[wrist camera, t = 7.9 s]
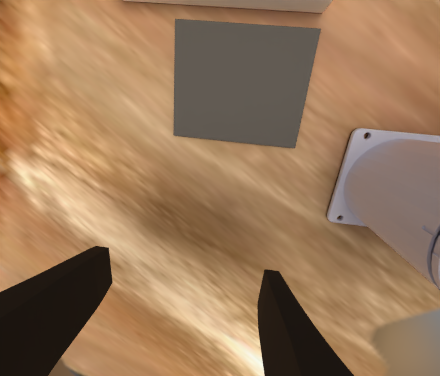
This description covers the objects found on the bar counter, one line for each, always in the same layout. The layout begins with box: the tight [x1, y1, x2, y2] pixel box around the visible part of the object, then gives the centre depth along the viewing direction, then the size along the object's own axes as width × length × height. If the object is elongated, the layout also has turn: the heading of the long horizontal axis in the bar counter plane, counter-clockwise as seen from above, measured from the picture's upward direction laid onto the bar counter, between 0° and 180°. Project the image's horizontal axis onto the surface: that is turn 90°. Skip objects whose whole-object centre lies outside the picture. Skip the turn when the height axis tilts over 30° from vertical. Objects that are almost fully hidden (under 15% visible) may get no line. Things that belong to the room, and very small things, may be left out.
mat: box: [174, 19, 321, 148], centre depth 16 cm, size 10×8×1 cm
